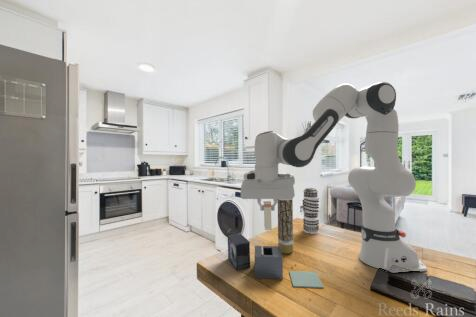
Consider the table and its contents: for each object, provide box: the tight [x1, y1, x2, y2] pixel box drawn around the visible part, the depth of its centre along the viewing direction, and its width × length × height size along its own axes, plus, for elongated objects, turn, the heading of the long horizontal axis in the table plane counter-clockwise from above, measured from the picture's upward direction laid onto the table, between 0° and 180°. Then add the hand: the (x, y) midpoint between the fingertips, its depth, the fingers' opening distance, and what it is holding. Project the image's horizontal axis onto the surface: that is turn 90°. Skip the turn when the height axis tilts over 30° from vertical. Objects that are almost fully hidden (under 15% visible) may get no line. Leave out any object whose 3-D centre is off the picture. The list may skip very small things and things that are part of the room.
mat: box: [288, 270, 324, 289], centre depth 74 cm, size 10×9×1 cm
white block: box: [263, 199, 272, 231], centre depth 79 cm, size 3×5×10 cm, turn 174°
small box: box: [227, 232, 251, 272], centre depth 87 cm, size 11×6×10 cm, turn 22°
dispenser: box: [254, 245, 284, 280], centre depth 79 cm, size 10×9×8 cm
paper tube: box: [277, 198, 294, 255], centre depth 96 cm, size 7×7×25 cm
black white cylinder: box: [302, 187, 320, 235], centre depth 121 cm, size 9×9×25 cm
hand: (267, 210), depth 79 cm, fingers closed on white block, 2 cm apart
